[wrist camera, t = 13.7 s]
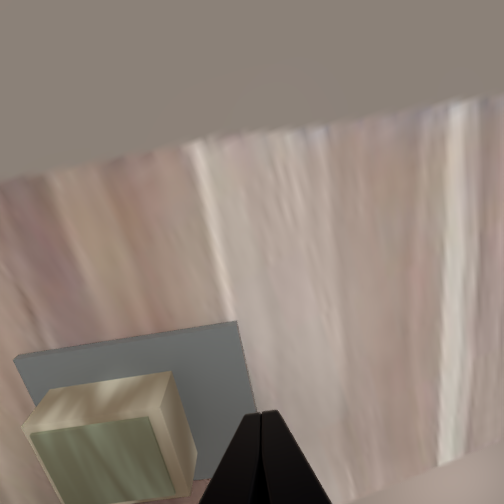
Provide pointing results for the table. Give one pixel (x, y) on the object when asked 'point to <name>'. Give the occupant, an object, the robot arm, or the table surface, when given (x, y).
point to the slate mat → (162, 360)
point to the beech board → (114, 441)
